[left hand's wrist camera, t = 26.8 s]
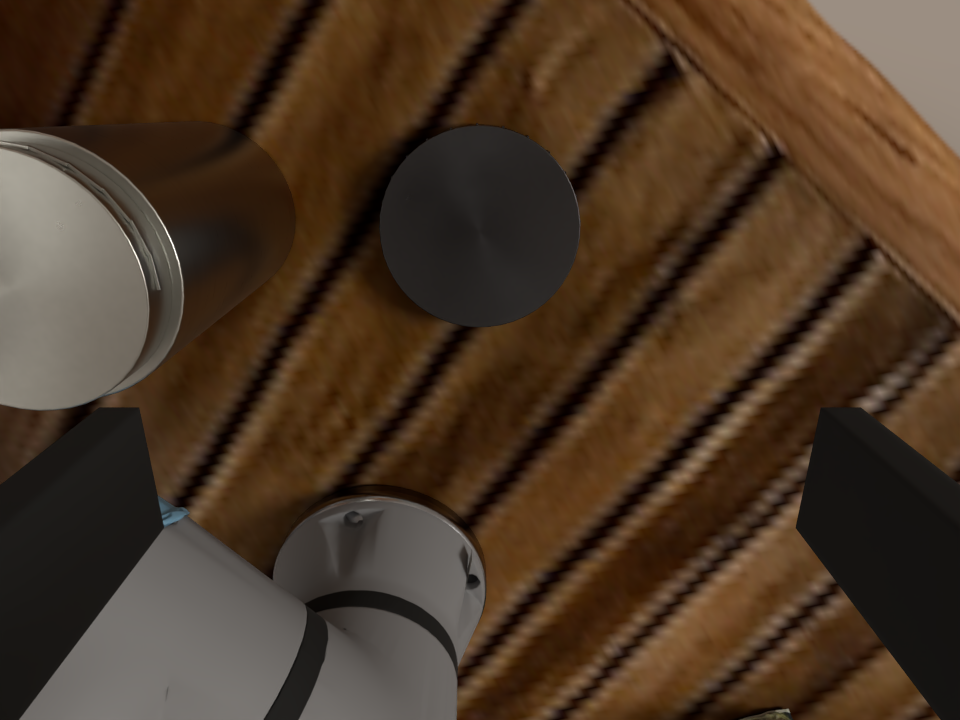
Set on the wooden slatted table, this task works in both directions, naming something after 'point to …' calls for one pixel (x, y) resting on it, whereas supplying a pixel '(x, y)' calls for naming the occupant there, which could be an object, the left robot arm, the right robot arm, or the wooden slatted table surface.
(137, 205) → the jar
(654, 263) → the wooden slatted table surface
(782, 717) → the fossil
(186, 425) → the wooden slatted table surface
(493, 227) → the lid
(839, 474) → the left robot arm
